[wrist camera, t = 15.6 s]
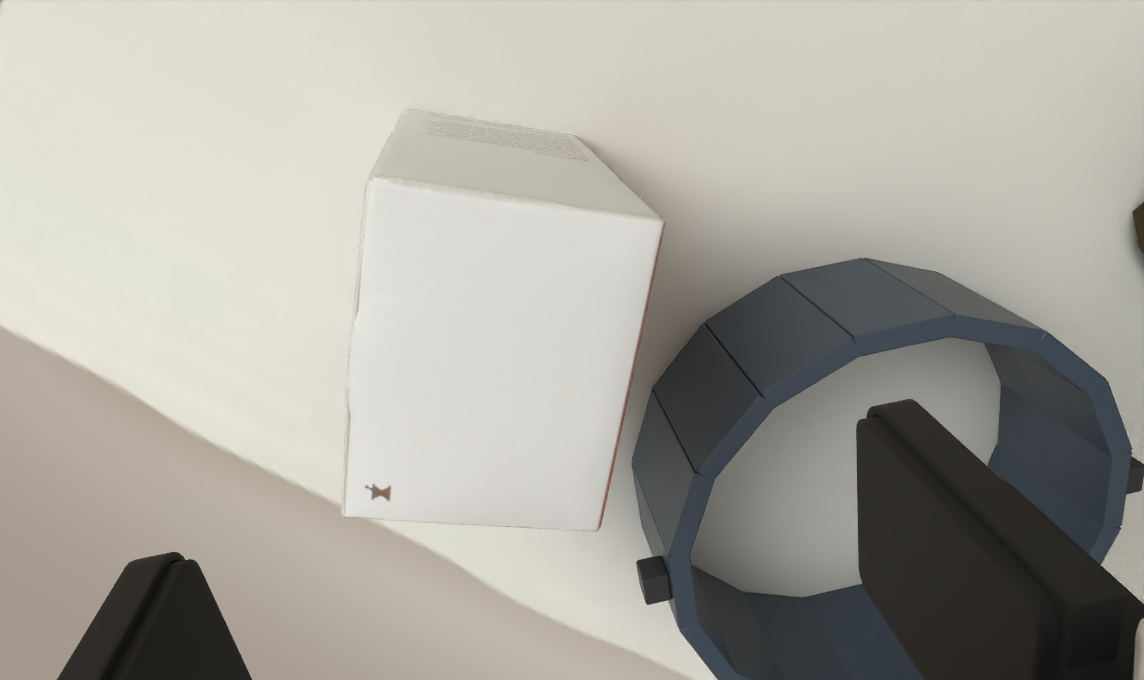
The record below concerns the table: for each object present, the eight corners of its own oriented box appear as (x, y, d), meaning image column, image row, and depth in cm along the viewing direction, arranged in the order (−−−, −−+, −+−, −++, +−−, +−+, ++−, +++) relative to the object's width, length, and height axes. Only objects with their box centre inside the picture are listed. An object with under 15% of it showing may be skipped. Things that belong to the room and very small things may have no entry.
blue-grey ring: (581, 316, 31) (611, 388, 25) (1051, 217, 32) (1186, 264, 26) (640, 648, 38) (674, 766, 32) (1024, 558, 39) (1125, 656, 33)
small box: (546, 338, 31) (601, 541, 19) (382, 321, 30) (332, 526, 18) (581, 130, 28) (672, 218, 16) (401, 102, 27) (356, 173, 15)
